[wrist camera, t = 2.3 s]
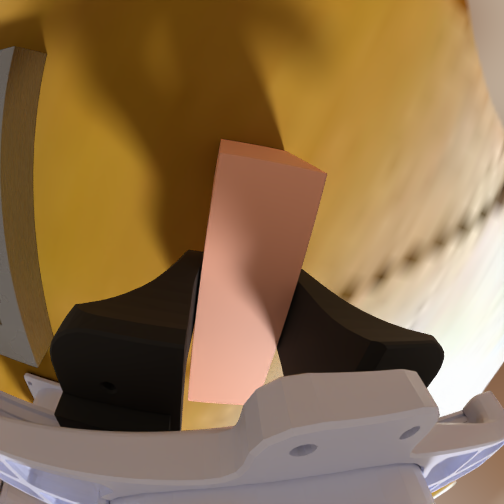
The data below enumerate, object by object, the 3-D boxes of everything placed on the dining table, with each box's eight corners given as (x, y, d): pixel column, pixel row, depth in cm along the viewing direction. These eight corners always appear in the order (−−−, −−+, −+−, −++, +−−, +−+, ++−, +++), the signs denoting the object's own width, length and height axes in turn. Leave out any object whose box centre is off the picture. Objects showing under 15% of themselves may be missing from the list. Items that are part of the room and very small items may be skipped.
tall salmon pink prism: (245, 323, 17) (256, 405, 12) (194, 318, 17) (187, 400, 12) (284, 150, 13) (327, 173, 8) (221, 138, 13) (220, 152, 8)
